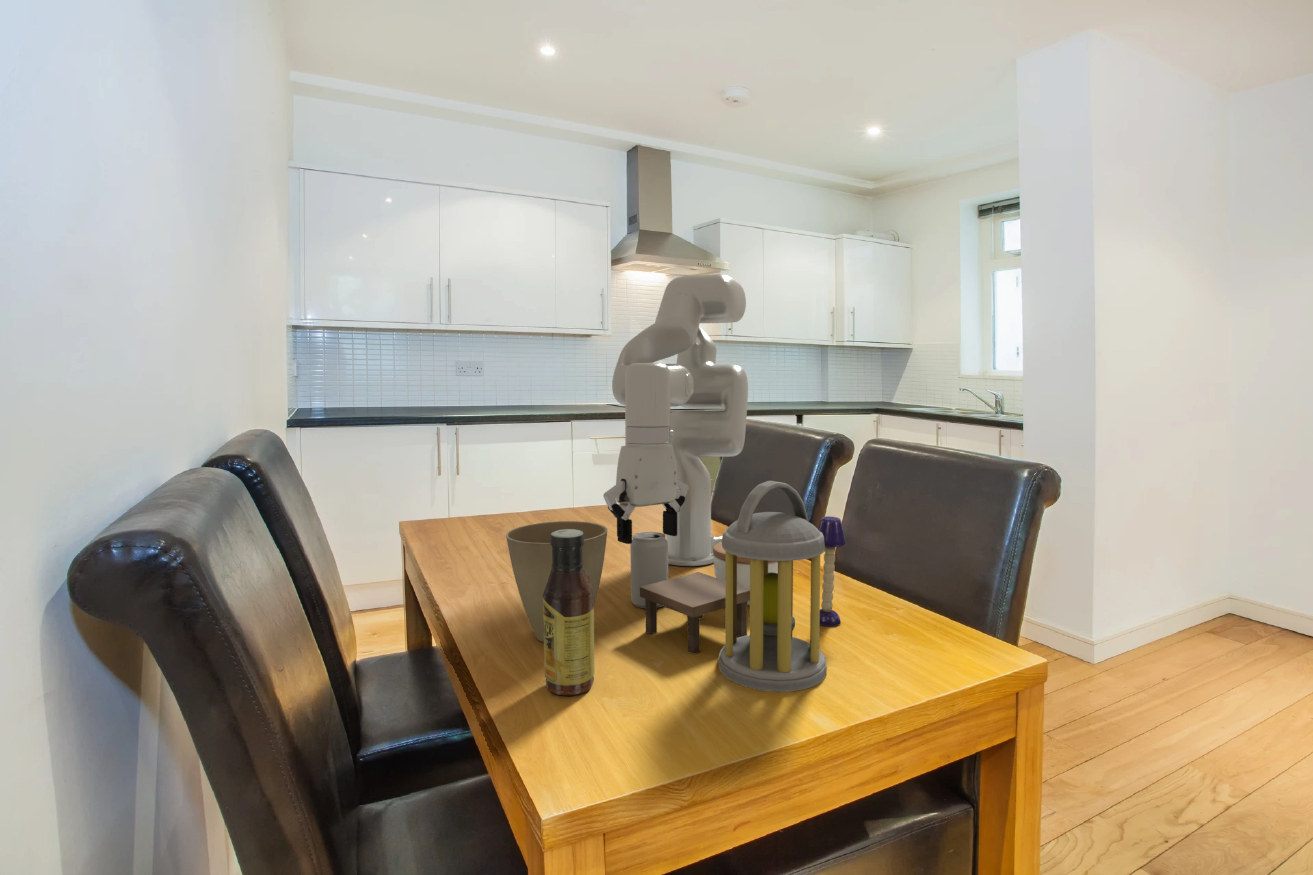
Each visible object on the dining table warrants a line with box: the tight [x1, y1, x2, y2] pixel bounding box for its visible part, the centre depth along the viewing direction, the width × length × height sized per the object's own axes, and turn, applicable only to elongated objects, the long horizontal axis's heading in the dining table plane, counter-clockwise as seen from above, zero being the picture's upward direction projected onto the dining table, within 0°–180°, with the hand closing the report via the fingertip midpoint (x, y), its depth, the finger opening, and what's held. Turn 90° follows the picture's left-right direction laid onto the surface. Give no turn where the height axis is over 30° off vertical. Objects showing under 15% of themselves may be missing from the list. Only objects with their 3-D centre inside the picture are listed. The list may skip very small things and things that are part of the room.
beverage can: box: [629, 531, 669, 609], centre depth 114 cm, size 6×6×12 cm
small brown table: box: [640, 571, 750, 655], centre depth 101 cm, size 12×12×7 cm
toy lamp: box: [817, 515, 846, 627], centre depth 105 cm, size 5×5×17 cm
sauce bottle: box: [543, 529, 595, 696], centre depth 83 cm, size 6×6×20 cm
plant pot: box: [505, 520, 608, 643], centre depth 101 cm, size 15×15×16 cm
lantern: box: [718, 480, 828, 693], centre depth 88 cm, size 14×14×25 cm
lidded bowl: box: [713, 542, 778, 606], centre depth 117 cm, size 13×13×11 cm
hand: (647, 538), depth 113 cm, fingers open, 9 cm apart
